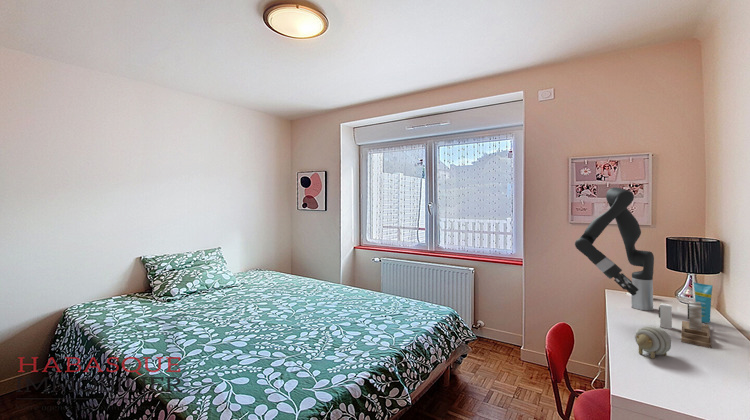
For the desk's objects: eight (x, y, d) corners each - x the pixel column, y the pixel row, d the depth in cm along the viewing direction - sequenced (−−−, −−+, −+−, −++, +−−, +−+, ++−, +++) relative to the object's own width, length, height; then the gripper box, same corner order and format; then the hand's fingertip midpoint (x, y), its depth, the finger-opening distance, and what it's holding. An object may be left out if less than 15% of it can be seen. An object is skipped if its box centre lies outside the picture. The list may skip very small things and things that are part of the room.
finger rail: (681, 341, 137) (680, 313, 137) (682, 323, 157) (681, 298, 157) (711, 347, 131) (711, 318, 130) (708, 328, 150) (708, 302, 150)
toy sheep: (626, 353, 128) (626, 326, 128) (649, 345, 135) (649, 319, 134) (658, 365, 118) (658, 335, 118) (681, 355, 125) (681, 327, 125)
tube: (691, 319, 162) (690, 282, 161) (696, 318, 164) (695, 281, 163) (710, 324, 155) (710, 285, 155) (715, 322, 157) (715, 284, 156)
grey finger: (659, 326, 154) (658, 304, 153) (659, 325, 156) (659, 303, 156) (671, 329, 150) (671, 306, 150) (671, 327, 152) (671, 304, 152)
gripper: (612, 265, 162) (641, 291, 154) (616, 261, 172) (644, 285, 164) (599, 274, 165) (627, 300, 157) (604, 269, 175) (631, 294, 167)
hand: (636, 292), depth 161 cm, fingers open, 8 cm apart
